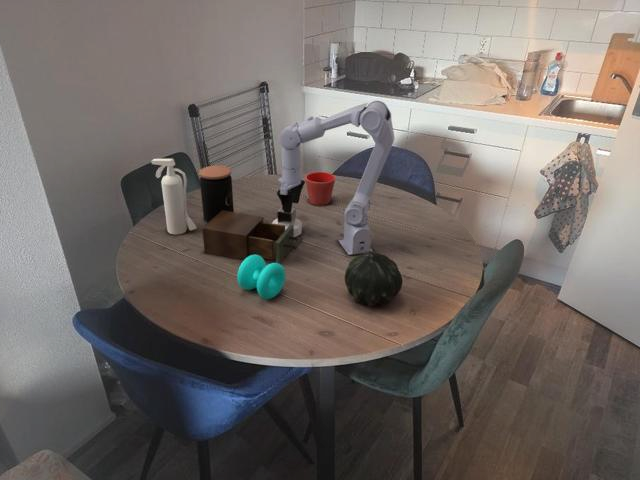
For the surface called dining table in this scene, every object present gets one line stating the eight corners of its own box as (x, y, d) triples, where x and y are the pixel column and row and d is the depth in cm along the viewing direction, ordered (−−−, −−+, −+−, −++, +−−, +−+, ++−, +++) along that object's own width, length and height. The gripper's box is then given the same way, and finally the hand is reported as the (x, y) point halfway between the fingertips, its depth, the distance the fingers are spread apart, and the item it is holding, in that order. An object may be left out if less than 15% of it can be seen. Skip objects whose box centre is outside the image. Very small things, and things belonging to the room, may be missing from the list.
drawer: (305, 246, 156) (306, 227, 152) (292, 265, 146) (292, 245, 142) (254, 237, 161) (253, 218, 158) (238, 255, 151) (237, 235, 148)
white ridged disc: (267, 236, 163) (267, 227, 162) (277, 223, 172) (276, 214, 170) (297, 240, 161) (297, 231, 159) (305, 227, 169) (305, 218, 167)
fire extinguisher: (192, 237, 163) (183, 164, 150) (159, 233, 166) (147, 161, 153) (200, 228, 169) (192, 157, 156) (168, 224, 172) (158, 154, 158)
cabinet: (264, 240, 161) (263, 216, 157) (247, 260, 150) (246, 235, 146) (224, 233, 166) (222, 210, 161) (204, 252, 155) (202, 228, 150)
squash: (390, 259, 140) (363, 230, 130) (421, 288, 128) (393, 259, 119) (354, 294, 142) (324, 268, 132) (381, 326, 130) (350, 300, 121)
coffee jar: (232, 226, 170) (229, 176, 160) (201, 226, 170) (196, 176, 161) (235, 213, 179) (232, 165, 169) (206, 213, 179) (201, 165, 170)
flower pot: (324, 209, 181) (325, 184, 176) (299, 202, 187) (299, 177, 182) (339, 200, 188) (340, 175, 183) (315, 193, 194) (316, 169, 189)
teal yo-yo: (260, 278, 142) (259, 247, 137) (287, 290, 137) (287, 259, 131) (236, 293, 136) (234, 262, 130) (263, 307, 130) (262, 274, 125)
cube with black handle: (295, 221, 165) (296, 206, 162) (291, 226, 162) (291, 211, 159) (281, 218, 167) (281, 204, 164) (277, 224, 163) (277, 209, 161)
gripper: (286, 157, 158) (287, 197, 165) (270, 173, 147) (271, 215, 154) (307, 159, 156) (307, 199, 163) (293, 175, 144) (293, 218, 152)
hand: (291, 207), depth 158 cm, fingers open, 7 cm apart
